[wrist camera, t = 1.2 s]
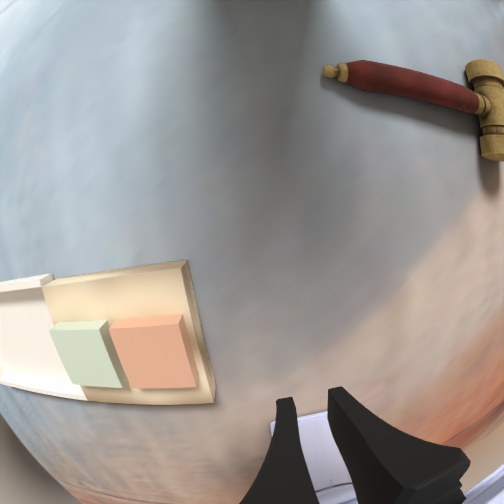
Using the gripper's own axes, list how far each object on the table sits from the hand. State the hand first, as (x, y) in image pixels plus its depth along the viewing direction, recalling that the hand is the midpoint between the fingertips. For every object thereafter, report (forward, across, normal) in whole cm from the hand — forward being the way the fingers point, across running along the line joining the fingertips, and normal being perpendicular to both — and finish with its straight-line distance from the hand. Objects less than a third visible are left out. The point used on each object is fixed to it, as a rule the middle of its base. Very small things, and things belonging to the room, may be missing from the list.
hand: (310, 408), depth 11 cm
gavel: (+11, -16, -17) cm, 26 cm away
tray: (+10, +26, 0) cm, 28 cm away
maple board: (+10, +12, 0) cm, 16 cm away
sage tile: (+7, +15, 0) cm, 17 cm away
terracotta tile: (+7, +9, 0) cm, 12 cm away
